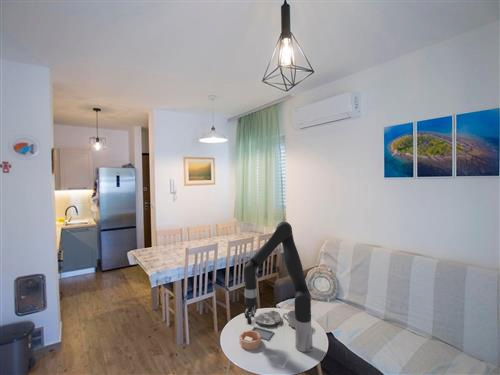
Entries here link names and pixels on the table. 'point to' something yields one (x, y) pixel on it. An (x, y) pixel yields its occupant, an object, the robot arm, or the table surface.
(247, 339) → the stone
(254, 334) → the bowl
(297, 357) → the table surface
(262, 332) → the tray
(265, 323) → the brain slice
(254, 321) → the stone
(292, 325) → the teacup
